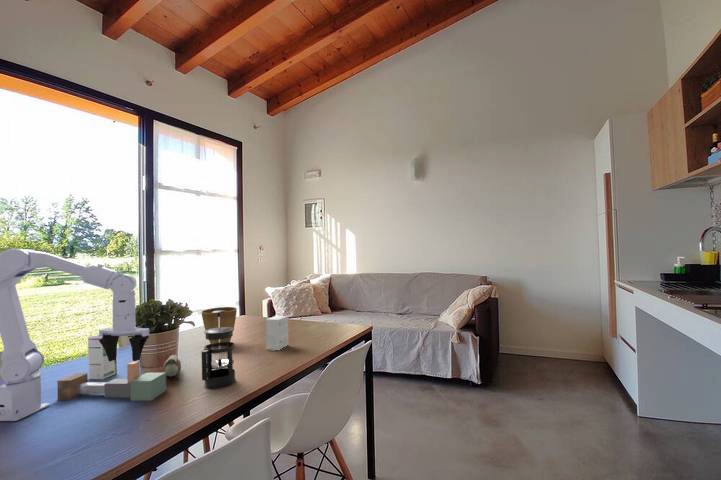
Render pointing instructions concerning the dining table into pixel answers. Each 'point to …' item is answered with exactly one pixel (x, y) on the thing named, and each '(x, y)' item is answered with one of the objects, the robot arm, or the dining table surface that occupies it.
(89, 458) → the dining table surface
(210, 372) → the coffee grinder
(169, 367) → the decorative bird
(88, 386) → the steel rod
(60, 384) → the brown wooden block
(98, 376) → the syrup box
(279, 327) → the small box
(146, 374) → the socket block
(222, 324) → the plant pot
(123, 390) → the stand with post
